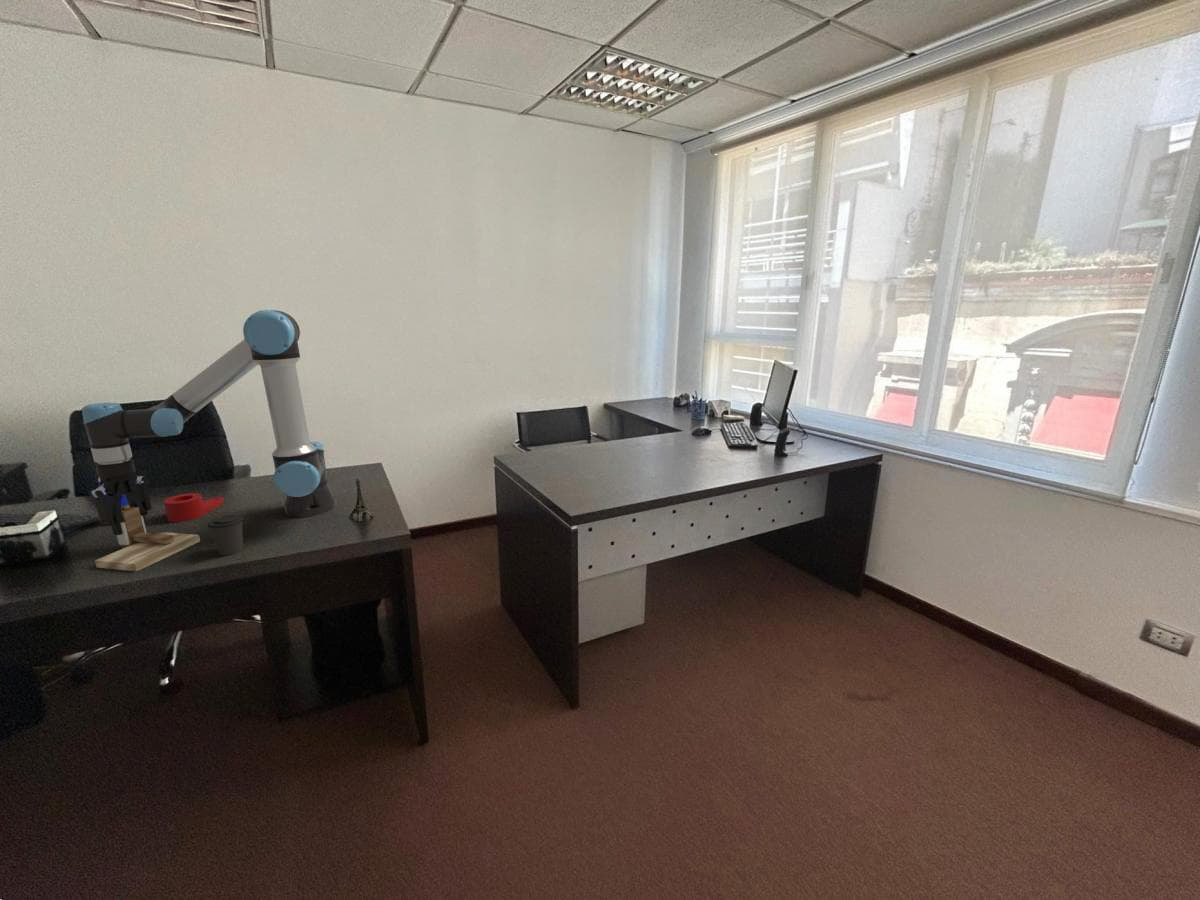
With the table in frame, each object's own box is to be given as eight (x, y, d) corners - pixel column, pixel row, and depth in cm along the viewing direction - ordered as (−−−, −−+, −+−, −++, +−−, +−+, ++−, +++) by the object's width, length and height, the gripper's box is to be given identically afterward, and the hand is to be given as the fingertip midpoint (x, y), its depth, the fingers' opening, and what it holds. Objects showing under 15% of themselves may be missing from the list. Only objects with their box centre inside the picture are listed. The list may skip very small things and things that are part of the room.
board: (200, 541, 145) (198, 534, 145) (136, 571, 128) (134, 564, 128) (164, 538, 147) (162, 531, 147) (96, 567, 130) (94, 560, 129)
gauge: (178, 546, 141) (169, 506, 138) (164, 552, 138) (155, 511, 134) (137, 542, 143) (127, 502, 140) (122, 549, 139) (111, 508, 136)
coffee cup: (209, 560, 135) (202, 525, 132) (217, 547, 142) (211, 514, 139) (245, 555, 138) (239, 521, 135) (251, 543, 145) (246, 510, 142)
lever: (186, 524, 157) (181, 504, 156) (160, 522, 159) (155, 502, 157) (234, 504, 175) (231, 486, 173) (210, 502, 176) (207, 484, 174)
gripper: (134, 451, 143) (152, 527, 149) (65, 469, 127) (88, 553, 133) (157, 453, 142) (174, 529, 148) (90, 470, 126) (112, 555, 132)
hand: (133, 540), depth 141 cm, fingers closed on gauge, 4 cm apart
